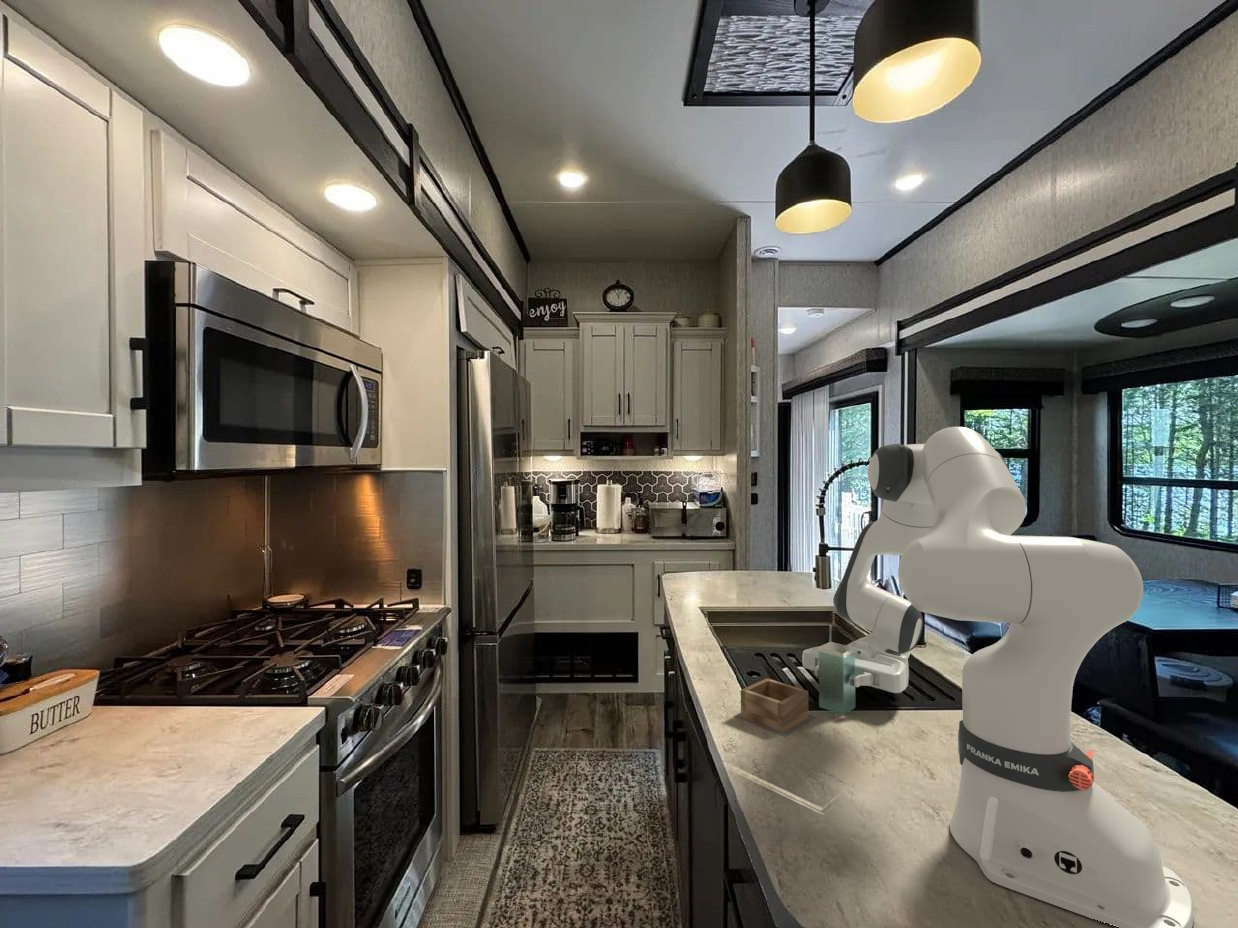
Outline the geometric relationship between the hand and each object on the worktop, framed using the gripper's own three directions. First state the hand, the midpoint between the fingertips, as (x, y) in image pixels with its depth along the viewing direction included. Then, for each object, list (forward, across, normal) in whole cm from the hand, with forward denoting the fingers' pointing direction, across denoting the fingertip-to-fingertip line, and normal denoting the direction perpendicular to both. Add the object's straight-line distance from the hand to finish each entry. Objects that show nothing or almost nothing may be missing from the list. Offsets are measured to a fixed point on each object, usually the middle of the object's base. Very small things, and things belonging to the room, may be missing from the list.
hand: (834, 677), depth 108 cm
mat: (+12, -6, +6) cm, 15 cm away
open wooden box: (+12, -6, +6) cm, 15 cm away
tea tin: (-1, 0, +6) cm, 7 cm away
